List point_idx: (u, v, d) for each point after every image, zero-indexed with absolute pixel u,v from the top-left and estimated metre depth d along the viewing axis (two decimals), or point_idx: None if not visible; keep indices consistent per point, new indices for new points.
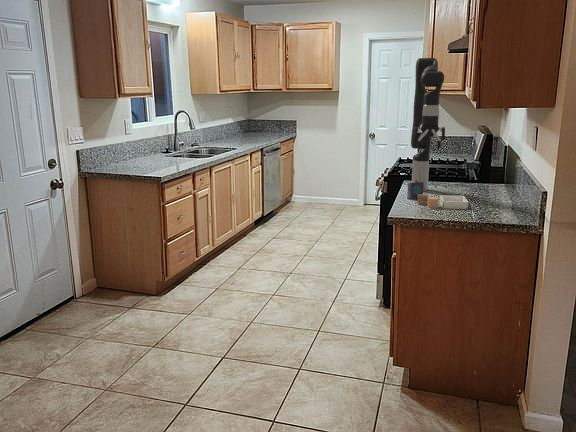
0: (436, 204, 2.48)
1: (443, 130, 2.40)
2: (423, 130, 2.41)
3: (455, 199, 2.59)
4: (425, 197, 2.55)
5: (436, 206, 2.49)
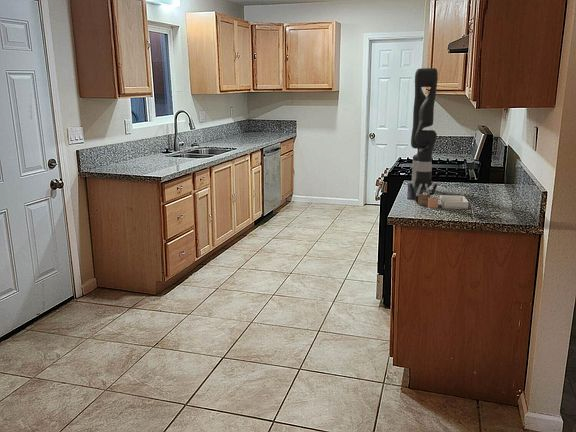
0: (436, 204, 2.48)
1: (435, 186, 2.54)
2: (417, 185, 2.56)
3: (455, 199, 2.59)
4: (425, 197, 2.55)
5: (436, 206, 2.49)
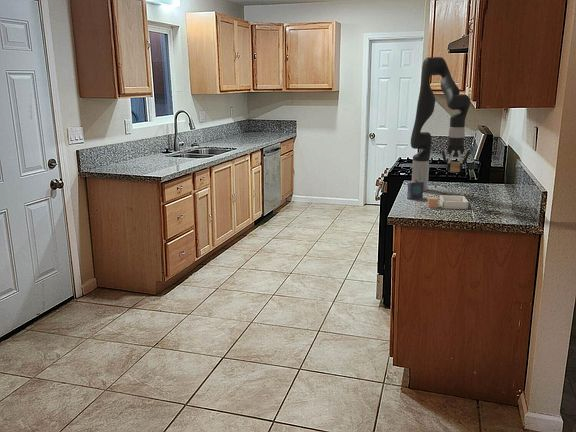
0: (436, 204, 2.48)
1: (467, 153, 2.48)
2: (449, 152, 2.50)
3: (455, 199, 2.59)
4: (458, 164, 2.49)
5: (436, 206, 2.49)
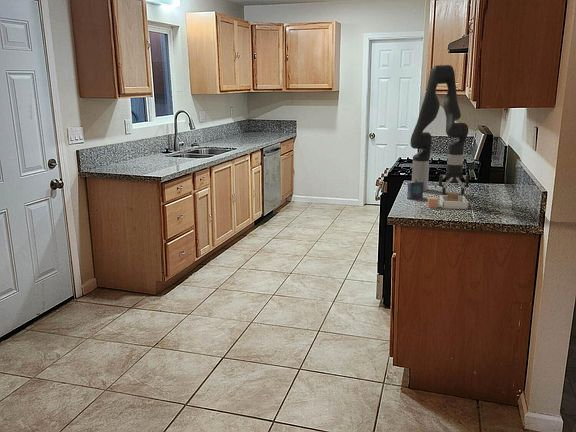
0: (436, 204, 2.48)
1: (467, 178, 2.51)
2: (448, 178, 2.53)
3: None
4: (456, 195, 2.53)
5: (436, 206, 2.49)
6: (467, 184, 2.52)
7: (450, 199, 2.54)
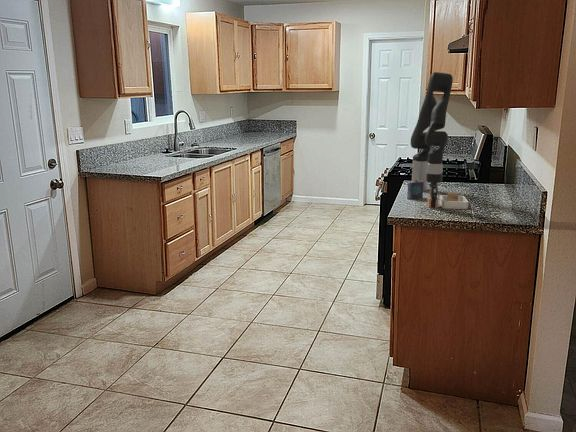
0: (436, 204, 2.48)
1: (432, 191, 2.44)
2: None
3: None
4: (456, 195, 2.53)
5: (436, 206, 2.49)
6: (431, 196, 2.45)
7: (450, 199, 2.54)
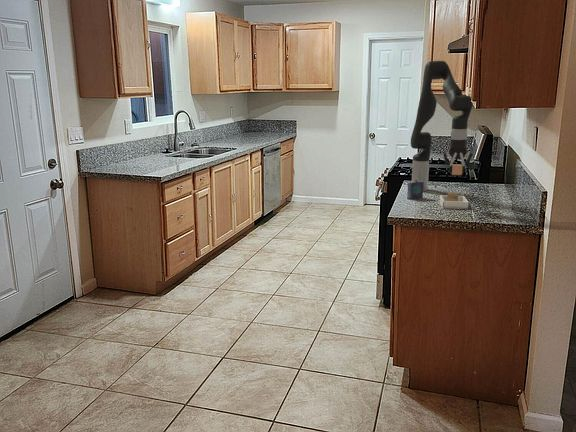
0: None
1: (470, 156, 2.42)
2: (451, 154, 2.43)
3: None
4: (456, 195, 2.53)
5: None
6: (468, 162, 2.43)
7: (450, 199, 2.54)
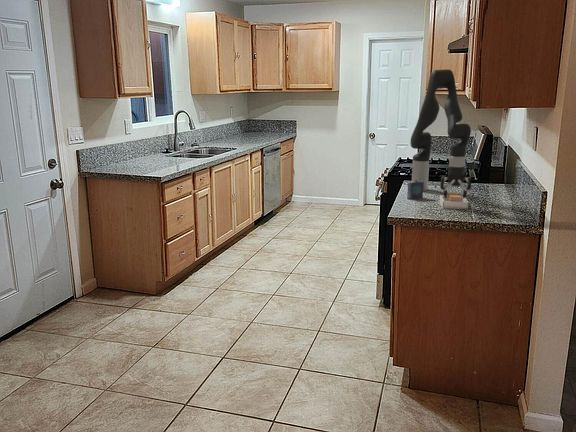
0: None
1: (469, 180, 2.45)
2: (449, 180, 2.46)
3: None
4: None
5: None
6: (469, 187, 2.45)
7: None
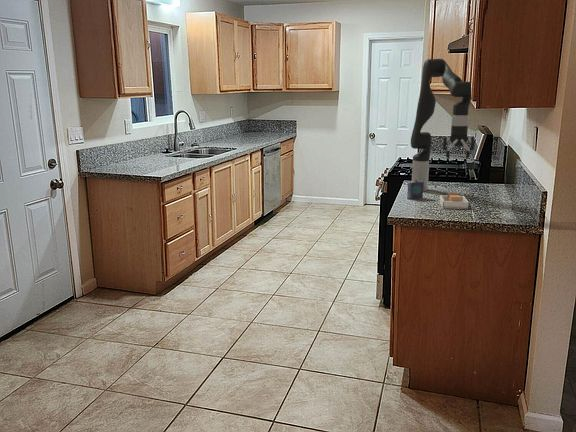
0: None
1: (472, 140, 2.40)
2: (452, 140, 2.42)
3: None
4: None
5: None
6: (472, 146, 2.41)
7: None
